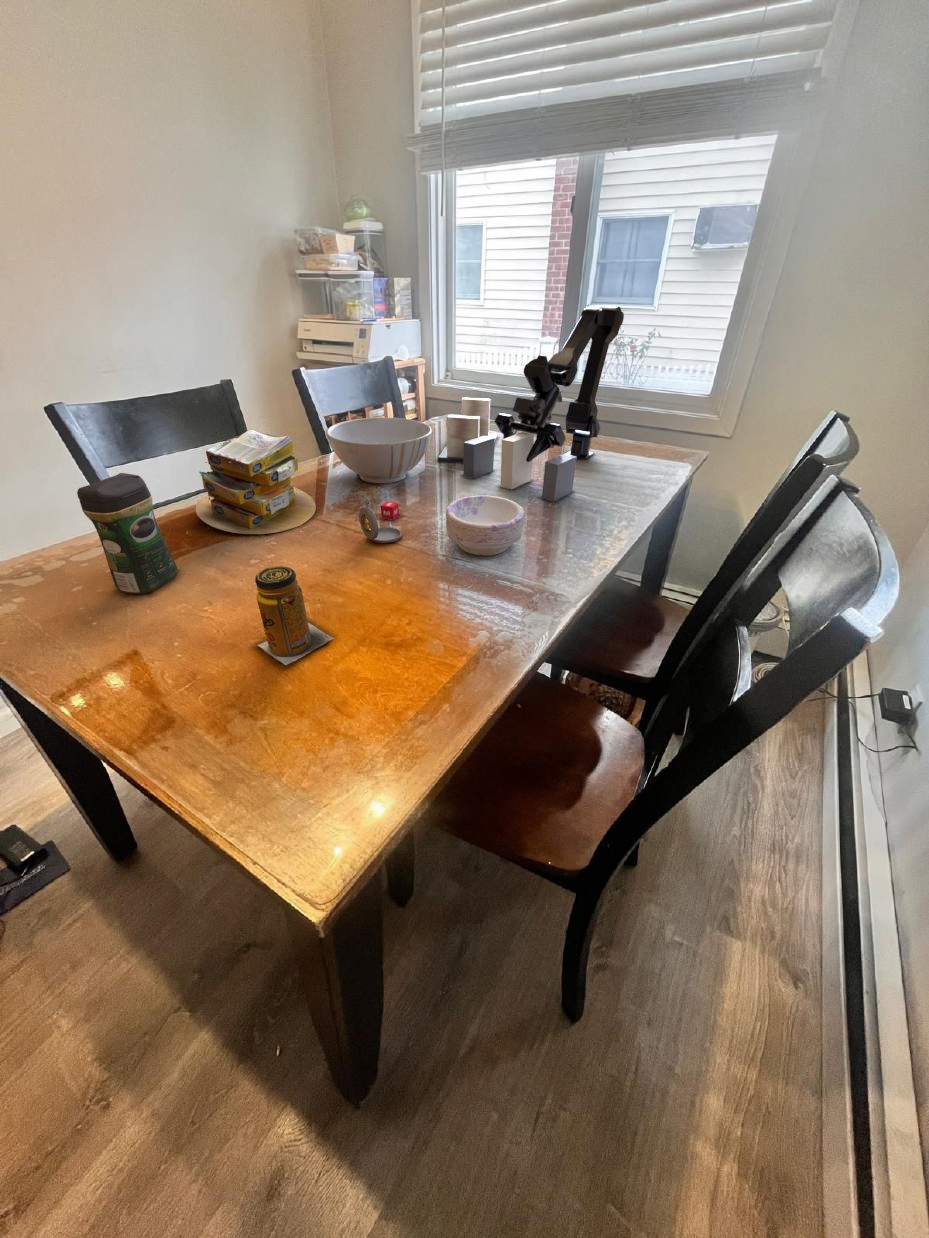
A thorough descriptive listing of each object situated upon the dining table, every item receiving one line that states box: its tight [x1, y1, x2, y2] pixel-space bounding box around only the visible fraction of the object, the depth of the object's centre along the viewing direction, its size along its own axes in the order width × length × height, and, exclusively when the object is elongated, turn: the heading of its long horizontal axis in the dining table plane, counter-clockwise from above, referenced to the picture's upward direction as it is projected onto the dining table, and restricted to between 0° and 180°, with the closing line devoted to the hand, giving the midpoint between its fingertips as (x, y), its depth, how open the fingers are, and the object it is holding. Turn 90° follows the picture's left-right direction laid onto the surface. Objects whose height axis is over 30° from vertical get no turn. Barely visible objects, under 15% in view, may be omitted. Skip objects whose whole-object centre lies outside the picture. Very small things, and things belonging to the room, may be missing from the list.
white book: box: [500, 431, 535, 490], centre depth 132 cm, size 9×4×12 cm, turn 140°
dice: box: [379, 500, 400, 521], centre depth 115 cm, size 3×3×3 cm
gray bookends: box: [462, 436, 578, 502], centre depth 133 cm, size 9×28×9 cm, turn 51°
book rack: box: [437, 397, 498, 464], centre depth 158 cm, size 14×30×12 cm, turn 171°
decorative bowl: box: [325, 416, 433, 484], centre depth 136 cm, size 27×27×12 cm
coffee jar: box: [76, 472, 179, 595], centre depth 85 cm, size 10×8×19 cm
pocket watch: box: [358, 494, 402, 544], centre depth 104 cm, size 8×8×10 cm
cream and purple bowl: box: [445, 494, 525, 557], centre depth 102 cm, size 15×15×8 cm
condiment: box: [254, 565, 335, 666], centre depth 73 cm, size 7×8×12 cm
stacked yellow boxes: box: [195, 429, 317, 535], centre depth 112 cm, size 25×25×17 cm
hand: (514, 458), depth 130 cm, fingers closed on white book, 7 cm apart
